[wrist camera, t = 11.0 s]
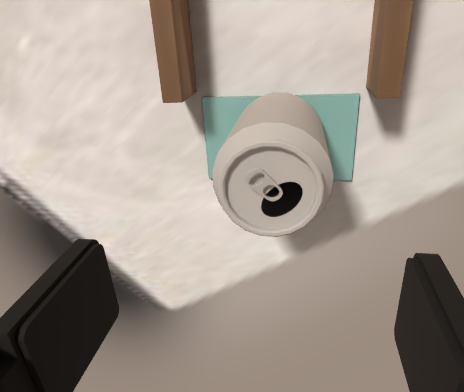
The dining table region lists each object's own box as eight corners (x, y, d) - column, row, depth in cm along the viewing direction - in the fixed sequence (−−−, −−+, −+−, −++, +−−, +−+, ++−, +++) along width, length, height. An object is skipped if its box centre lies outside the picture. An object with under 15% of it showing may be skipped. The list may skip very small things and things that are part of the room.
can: (276, 189, 34) (266, 267, 24) (218, 132, 33) (180, 188, 22) (341, 136, 31) (364, 198, 21) (281, 70, 30) (272, 100, 19)
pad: (359, 93, 30) (359, 94, 29) (351, 179, 33) (351, 180, 33) (202, 97, 32) (201, 97, 32) (209, 177, 35) (208, 178, 35)
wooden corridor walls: (411, -123, 24) (434, -151, 20) (385, 86, 29) (399, 97, 25) (159, -93, 26) (134, -113, 22) (179, 92, 32) (163, 102, 28)
